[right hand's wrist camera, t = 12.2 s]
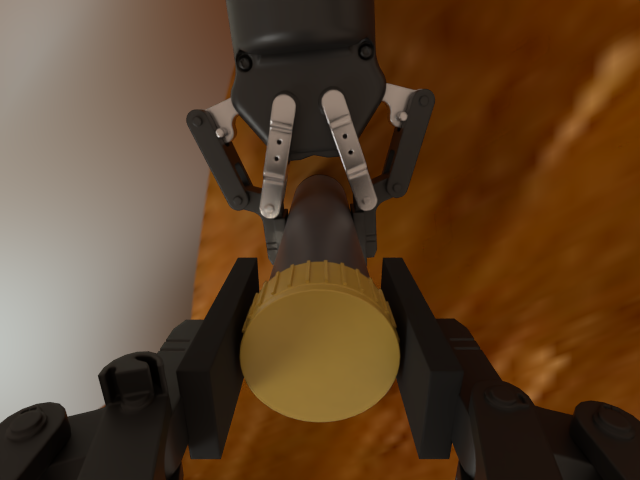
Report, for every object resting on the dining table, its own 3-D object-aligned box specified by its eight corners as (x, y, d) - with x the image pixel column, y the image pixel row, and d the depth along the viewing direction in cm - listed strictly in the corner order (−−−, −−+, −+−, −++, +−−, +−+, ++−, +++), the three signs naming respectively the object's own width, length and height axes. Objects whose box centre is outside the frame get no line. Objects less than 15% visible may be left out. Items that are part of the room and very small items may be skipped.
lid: (259, 246, 11) (246, 273, 9) (407, 272, 12) (423, 303, 10) (241, 369, 13) (229, 412, 11) (371, 388, 13) (380, 434, 11)
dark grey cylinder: (298, 170, 28) (261, 279, 10) (350, 179, 28) (404, 303, 10) (290, 220, 29) (244, 394, 11) (340, 229, 29) (370, 413, 12)
